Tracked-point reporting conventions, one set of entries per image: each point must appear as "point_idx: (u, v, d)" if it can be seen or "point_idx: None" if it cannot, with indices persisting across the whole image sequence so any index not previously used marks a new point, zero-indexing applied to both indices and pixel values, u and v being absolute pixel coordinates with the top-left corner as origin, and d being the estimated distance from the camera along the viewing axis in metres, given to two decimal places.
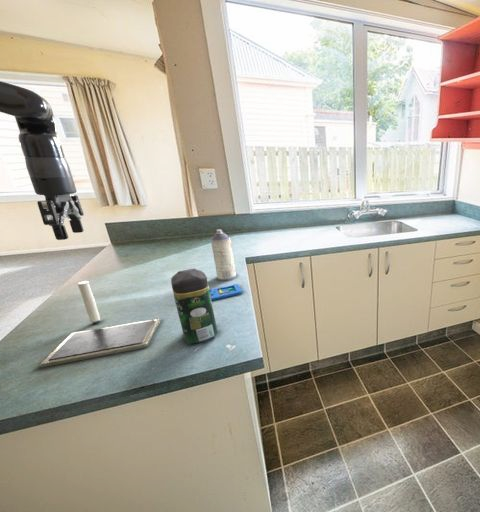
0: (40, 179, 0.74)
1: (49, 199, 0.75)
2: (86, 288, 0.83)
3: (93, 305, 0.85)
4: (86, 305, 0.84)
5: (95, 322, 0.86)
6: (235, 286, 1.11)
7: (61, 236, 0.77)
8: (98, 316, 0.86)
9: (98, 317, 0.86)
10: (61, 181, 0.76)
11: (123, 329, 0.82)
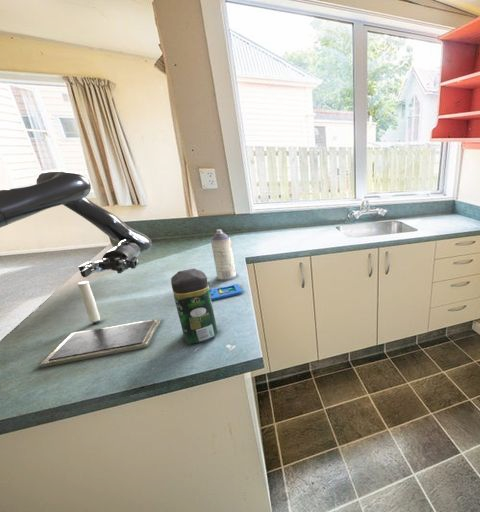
0: (132, 255, 1.07)
1: None
2: (86, 288, 0.83)
3: (93, 305, 0.85)
4: (86, 305, 0.84)
5: (95, 322, 0.86)
6: (235, 286, 1.11)
7: (123, 270, 0.96)
8: (98, 316, 0.86)
9: (98, 317, 0.86)
10: None
11: (123, 329, 0.82)
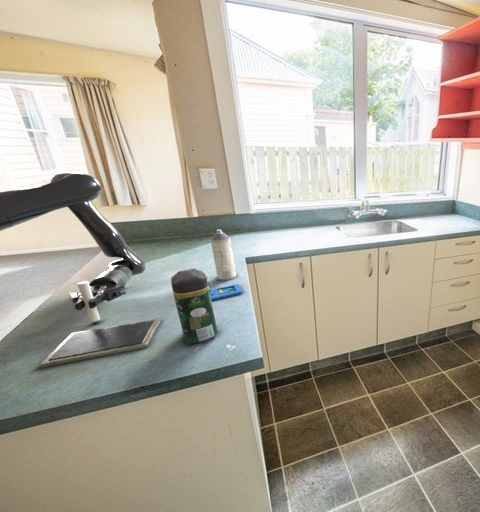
0: (122, 280, 0.98)
1: (117, 288, 0.93)
2: (86, 288, 0.83)
3: None
4: (86, 305, 0.84)
5: (95, 322, 0.86)
6: (235, 286, 1.11)
7: (97, 304, 0.84)
8: (98, 316, 0.86)
9: (98, 317, 0.86)
10: None
11: (123, 329, 0.82)
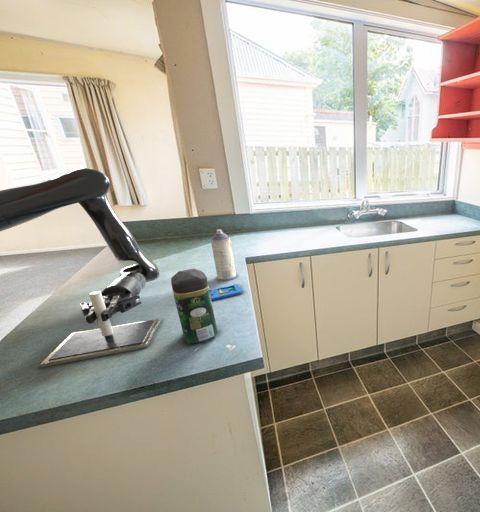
0: (136, 289, 0.89)
1: None
2: (98, 299, 0.74)
3: None
4: (98, 317, 0.75)
5: (107, 336, 0.77)
6: (235, 286, 1.11)
7: (110, 316, 0.75)
8: (111, 329, 0.78)
9: (111, 330, 0.78)
10: None
11: (123, 329, 0.82)
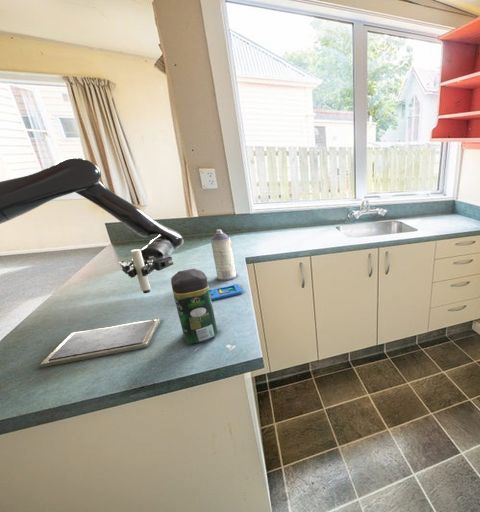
0: (167, 253, 0.97)
1: None
2: (138, 256, 0.82)
3: None
4: (138, 273, 0.84)
5: (146, 291, 0.86)
6: (235, 286, 1.11)
7: (149, 272, 0.84)
8: (148, 285, 0.86)
9: (148, 286, 0.86)
10: None
11: (123, 329, 0.82)
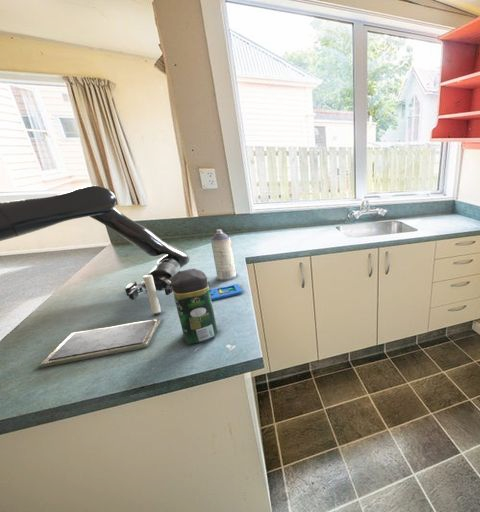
0: (175, 273, 1.03)
1: None
2: (150, 281, 0.88)
3: (155, 297, 0.90)
4: (149, 297, 0.89)
5: (156, 313, 0.91)
6: (235, 286, 1.11)
7: (171, 291, 0.91)
8: (159, 308, 0.91)
9: (159, 309, 0.91)
10: None
11: (123, 329, 0.82)
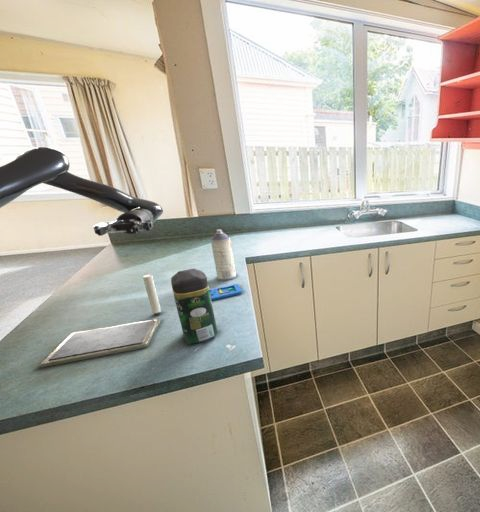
0: (146, 219, 1.05)
1: (141, 223, 1.01)
2: (150, 281, 0.88)
3: (155, 297, 0.90)
4: (149, 297, 0.89)
5: (156, 313, 0.91)
6: (235, 286, 1.11)
7: (139, 230, 0.94)
8: (159, 308, 0.91)
9: (159, 309, 0.91)
10: (143, 228, 1.05)
11: (123, 329, 0.82)
